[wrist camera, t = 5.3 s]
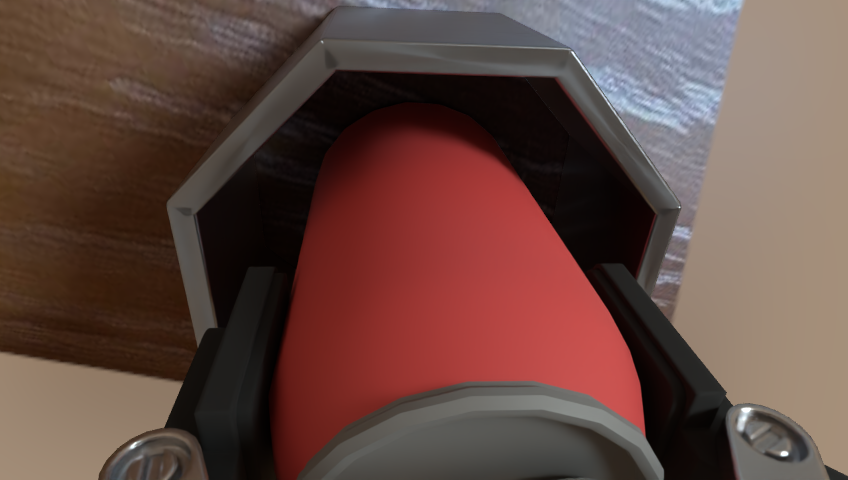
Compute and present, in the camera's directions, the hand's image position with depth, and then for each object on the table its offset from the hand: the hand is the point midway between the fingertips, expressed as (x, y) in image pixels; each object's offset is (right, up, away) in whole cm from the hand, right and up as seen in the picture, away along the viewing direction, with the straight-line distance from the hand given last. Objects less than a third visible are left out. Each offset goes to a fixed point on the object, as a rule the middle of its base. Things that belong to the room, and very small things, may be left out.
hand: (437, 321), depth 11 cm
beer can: (-1, +4, +6) cm, 7 cm away
